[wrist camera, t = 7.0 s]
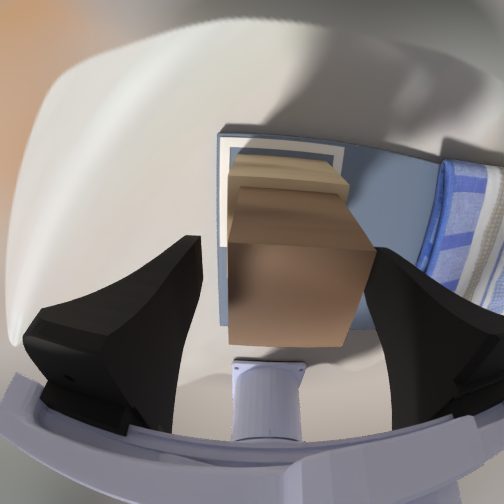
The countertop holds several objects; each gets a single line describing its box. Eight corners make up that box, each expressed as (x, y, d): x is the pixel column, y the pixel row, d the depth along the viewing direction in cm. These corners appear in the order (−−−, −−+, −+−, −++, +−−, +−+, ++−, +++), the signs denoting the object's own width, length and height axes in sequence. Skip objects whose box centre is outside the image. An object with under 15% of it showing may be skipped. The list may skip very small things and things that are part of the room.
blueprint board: (384, 322, 24) (386, 328, 23) (221, 319, 24) (219, 326, 23) (438, 163, 16) (445, 166, 15) (219, 132, 16) (216, 134, 15)
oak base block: (314, 238, 19) (328, 282, 14) (235, 233, 19) (227, 277, 14) (326, 161, 16) (349, 185, 12) (237, 154, 16) (227, 175, 12)
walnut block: (321, 273, 14) (341, 346, 10) (238, 268, 14) (228, 344, 10) (337, 194, 12) (376, 251, 8) (240, 186, 12) (227, 242, 8)
